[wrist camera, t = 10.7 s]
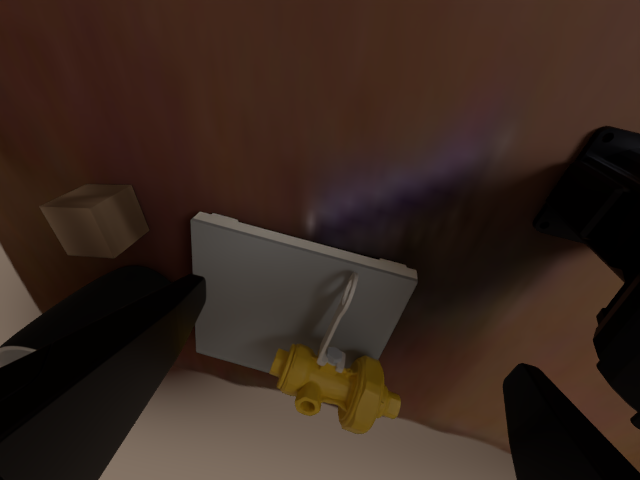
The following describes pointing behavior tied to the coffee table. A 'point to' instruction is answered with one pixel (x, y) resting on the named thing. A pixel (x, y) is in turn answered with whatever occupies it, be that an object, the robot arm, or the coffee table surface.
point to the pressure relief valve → (336, 378)
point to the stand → (289, 294)
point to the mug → (83, 309)
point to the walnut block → (96, 220)
